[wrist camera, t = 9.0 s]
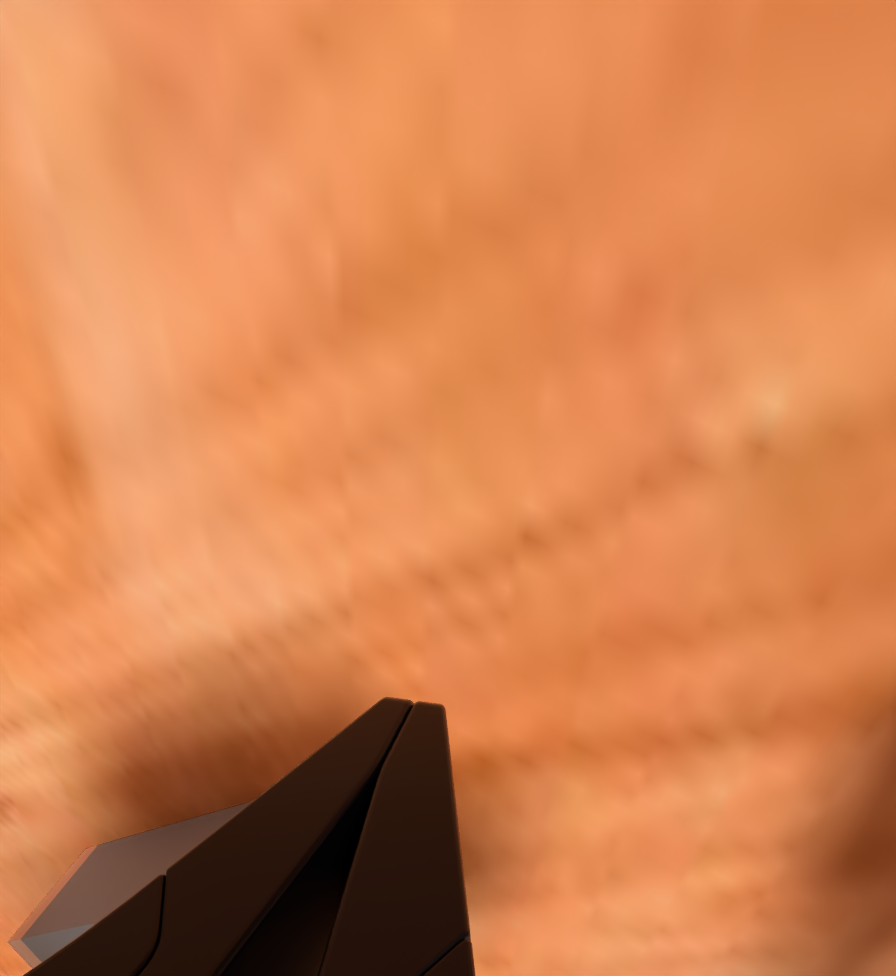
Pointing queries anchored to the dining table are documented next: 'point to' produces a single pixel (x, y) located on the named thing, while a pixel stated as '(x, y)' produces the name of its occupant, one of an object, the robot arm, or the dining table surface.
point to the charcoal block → (108, 882)
